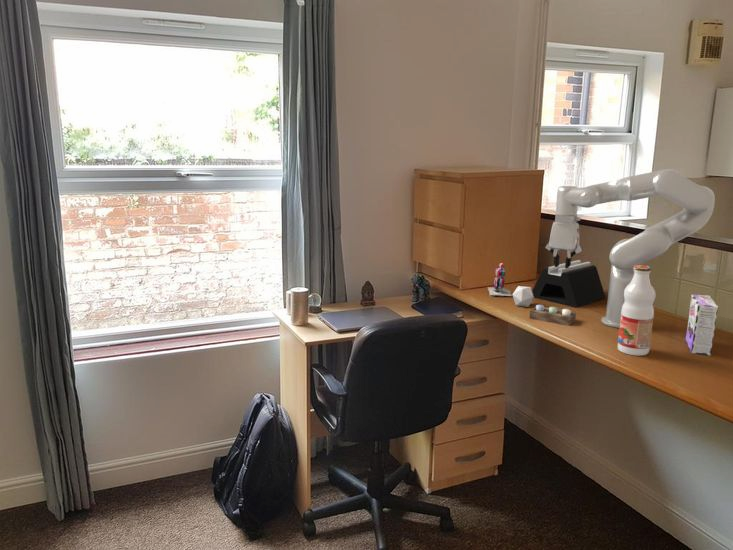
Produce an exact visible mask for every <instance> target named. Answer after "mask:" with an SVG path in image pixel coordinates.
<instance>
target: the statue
mask: <svg viewBox="0 0 733 550" xmlns="http://www.w3.org/2000/svg"><path fill="white" fill-rule="evenodd" d="M495 276H496V277H495V278H494V283H493V284H494V287H493V286H492V287H490V286H487V291H488V293H489V297H493V298H494V297H495V296H496V297H501V298H504V297H505V296H506V297H510V298H513V295H512V294H513V293H512V292H511V290H510V289H509V287H508V288H505V283H506V279H505V277H506V269H504V263H502V262H501V263H499V268H498V267H496V268H495Z"/></svg>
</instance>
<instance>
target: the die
mask: <svg viewBox="0 0 733 550" xmlns="http://www.w3.org/2000/svg"><path fill="white" fill-rule="evenodd" d="M532 290H533V289H532V287H531V286H522V285H521V286H520V285H518V286H517V287H516V289H515V290H514V291H513V293H511V294H512V298H513V301H514V304H515V306H516V307H526V308H529V307H530V305H531V304H532V302H533V300H534V299H535V298H534V296H533V293H532Z"/></svg>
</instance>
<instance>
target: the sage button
mask: <svg viewBox="0 0 733 550" xmlns="http://www.w3.org/2000/svg"><path fill="white" fill-rule="evenodd" d="M548 308H549V313H555V314H557V309H558V307H557V306H550V307H548Z"/></svg>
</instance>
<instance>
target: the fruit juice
mask: <svg viewBox="0 0 733 550" xmlns="http://www.w3.org/2000/svg"><path fill="white" fill-rule="evenodd" d="M651 272H652V267H651V266H649V265H646V264H640V265H635V266H634V276H633V279H632V281H631V282H630V284H629V285H628V286H627V287H626V288H625V290H624V300H625V301H624V304H623V305H622V310H621V319H620V328H618V339H617V350H618V351H620V353H623V354H626V355H630V356H635V357H636V356H639V357H641V356H646V355H648V354H649V352H650V348H651V347H650V346H651V342H652V341H651V340H652V331H653V325H654V324H653V321H654V317H655V308H654V305H653V304H654V302H655V300H656V290H655V288H654V287H653V286H652V284H651V280H650V273H651Z"/></svg>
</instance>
